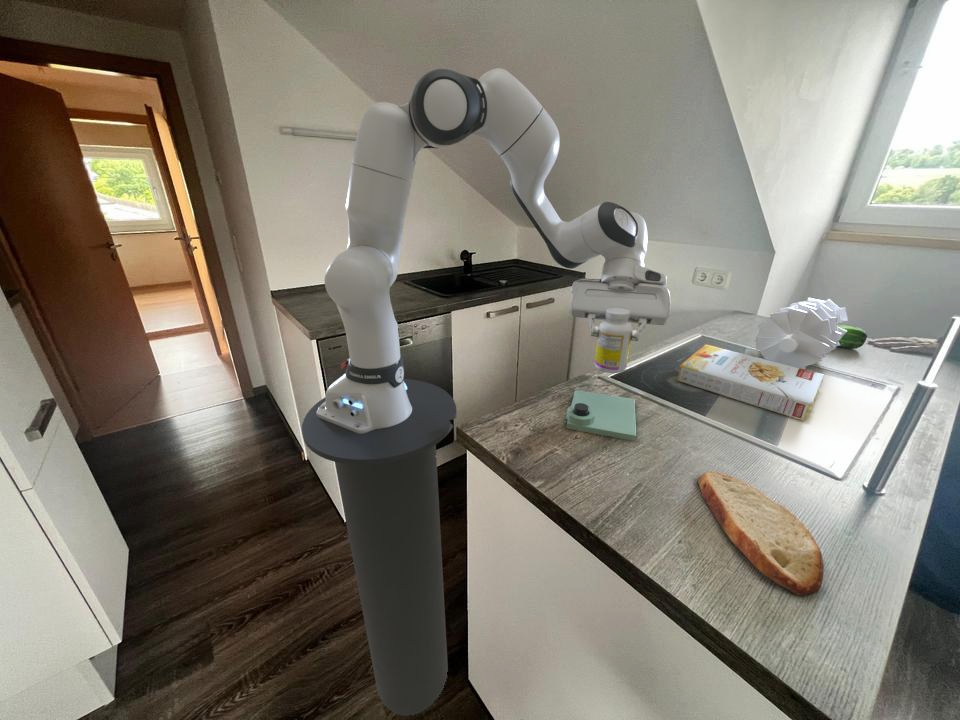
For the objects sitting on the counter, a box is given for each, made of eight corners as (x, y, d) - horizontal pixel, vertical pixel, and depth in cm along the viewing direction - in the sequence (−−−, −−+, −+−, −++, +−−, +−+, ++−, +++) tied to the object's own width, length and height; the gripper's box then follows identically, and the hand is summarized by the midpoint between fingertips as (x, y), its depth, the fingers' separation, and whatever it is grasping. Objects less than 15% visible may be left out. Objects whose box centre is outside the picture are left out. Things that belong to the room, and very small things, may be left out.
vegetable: (871, 327, 120) (792, 314, 133) (862, 349, 120) (784, 333, 134) (869, 332, 125) (793, 319, 139) (860, 353, 126) (785, 338, 139)
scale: (564, 428, 84) (565, 416, 83) (572, 394, 98) (574, 383, 97) (634, 441, 80) (637, 429, 78) (633, 404, 94) (635, 393, 92)
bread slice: (703, 472, 71) (708, 455, 69) (829, 526, 60) (839, 508, 58) (666, 528, 59) (671, 510, 58) (815, 610, 48) (826, 589, 46)
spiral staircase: (757, 377, 116) (785, 353, 130) (834, 373, 101) (856, 346, 115) (742, 319, 114) (772, 300, 128) (818, 306, 99) (843, 287, 113)
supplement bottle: (611, 359, 88) (620, 304, 83) (632, 371, 82) (643, 313, 77) (587, 364, 85) (594, 308, 80) (607, 376, 80) (616, 317, 75)
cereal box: (704, 342, 115) (826, 371, 97) (700, 359, 117) (818, 390, 99) (679, 364, 102) (815, 402, 84) (675, 382, 104) (806, 423, 86)
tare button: (573, 415, 84) (573, 408, 83) (574, 408, 86) (575, 402, 86) (587, 418, 83) (588, 411, 82) (588, 411, 85) (589, 404, 85)
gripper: (573, 269, 85) (563, 325, 81) (675, 275, 79) (670, 336, 75) (573, 285, 91) (564, 338, 86) (668, 292, 85) (663, 349, 80)
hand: (614, 337), depth 80 cm, fingers closed on supplement bottle, 6 cm apart
